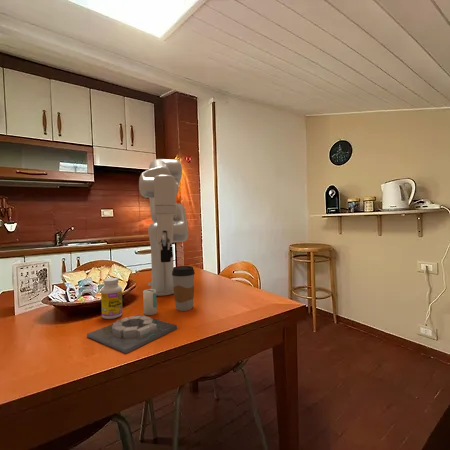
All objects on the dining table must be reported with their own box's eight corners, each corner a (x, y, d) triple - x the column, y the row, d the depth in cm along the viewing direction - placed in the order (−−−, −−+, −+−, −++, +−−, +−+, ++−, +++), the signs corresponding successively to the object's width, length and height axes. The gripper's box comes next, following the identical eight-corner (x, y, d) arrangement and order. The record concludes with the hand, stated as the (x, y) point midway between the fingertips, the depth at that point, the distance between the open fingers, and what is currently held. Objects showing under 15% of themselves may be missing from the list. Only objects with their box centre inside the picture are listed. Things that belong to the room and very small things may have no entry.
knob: (141, 313, 99) (140, 290, 99) (151, 310, 103) (150, 287, 102) (151, 316, 96) (150, 292, 96) (160, 312, 100) (160, 289, 99)
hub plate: (87, 337, 81) (86, 326, 80) (138, 317, 95) (138, 308, 95) (125, 353, 70) (125, 341, 70) (177, 328, 85) (176, 318, 85)
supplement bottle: (107, 321, 93) (105, 282, 92) (98, 316, 97) (97, 279, 97) (126, 315, 97) (124, 278, 97) (117, 311, 102) (115, 276, 101)
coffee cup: (199, 305, 106) (198, 266, 106) (189, 313, 98) (188, 270, 98) (179, 303, 109) (178, 265, 108) (168, 310, 101) (167, 269, 100)
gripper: (157, 211, 106) (159, 256, 107) (150, 210, 89) (152, 264, 90) (177, 211, 107) (179, 255, 108) (174, 210, 90) (176, 263, 91)
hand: (167, 259), depth 99 cm, fingers open, 9 cm apart
